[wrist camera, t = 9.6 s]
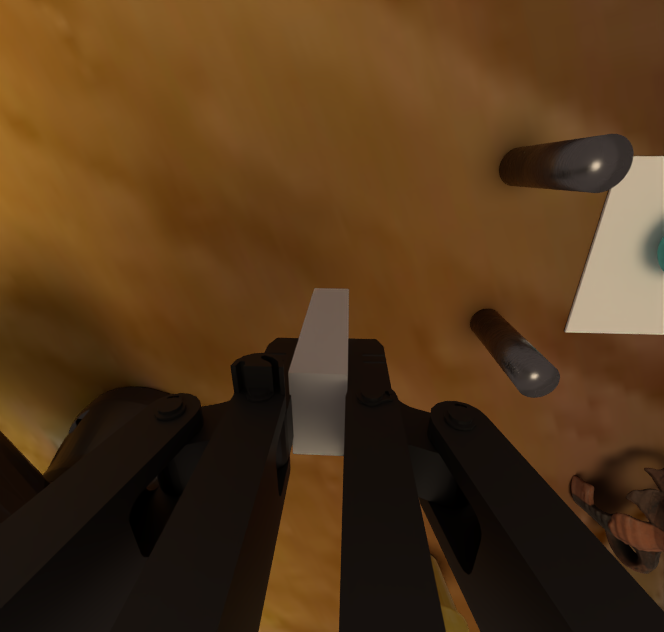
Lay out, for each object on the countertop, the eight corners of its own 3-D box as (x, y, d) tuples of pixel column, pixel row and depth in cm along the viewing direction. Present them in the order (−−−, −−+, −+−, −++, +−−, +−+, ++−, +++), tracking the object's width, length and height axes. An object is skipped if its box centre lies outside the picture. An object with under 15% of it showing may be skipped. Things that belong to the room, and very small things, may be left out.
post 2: (496, 185, 25) (568, 192, 17) (503, 147, 24) (584, 134, 16) (531, 186, 25) (622, 192, 16) (540, 147, 24) (641, 133, 15)
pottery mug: (563, 452, 36) (663, 498, 28) (617, 427, 39) (719, 461, 31) (567, 550, 37) (661, 618, 30) (617, 517, 41) (714, 571, 33)
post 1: (468, 334, 30) (512, 396, 22) (473, 308, 29) (522, 363, 21) (497, 335, 30) (553, 398, 21) (503, 309, 29) (564, 364, 20)
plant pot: (403, 595, 47) (415, 696, 38) (356, 559, 44) (358, 658, 35) (466, 569, 44) (496, 672, 35) (421, 529, 41) (441, 629, 32)
